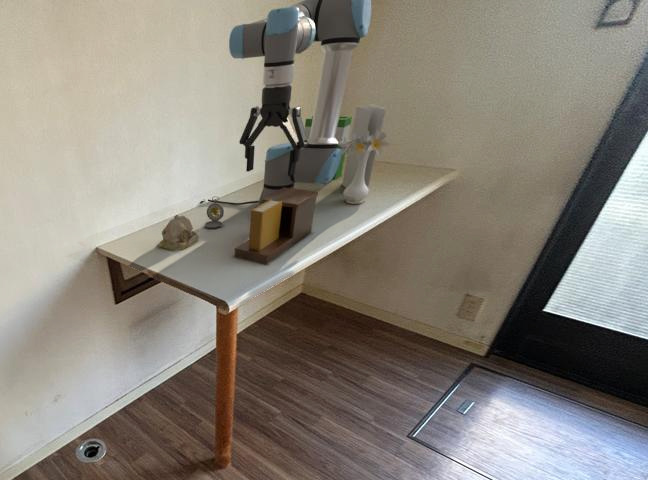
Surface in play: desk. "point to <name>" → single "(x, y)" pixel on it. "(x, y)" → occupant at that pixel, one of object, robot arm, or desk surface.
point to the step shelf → (285, 224)
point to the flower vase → (361, 162)
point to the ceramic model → (178, 234)
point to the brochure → (363, 122)
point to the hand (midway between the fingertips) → (269, 172)
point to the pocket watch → (214, 210)
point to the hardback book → (341, 130)
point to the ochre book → (264, 224)
